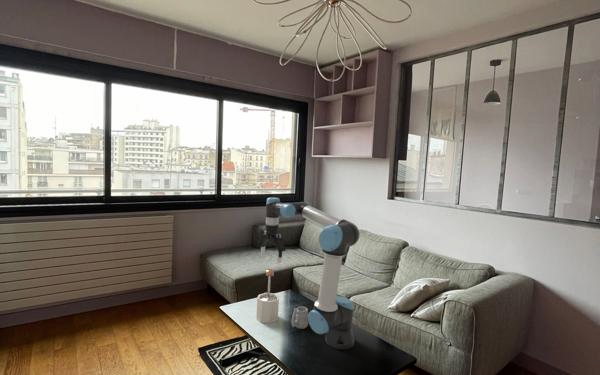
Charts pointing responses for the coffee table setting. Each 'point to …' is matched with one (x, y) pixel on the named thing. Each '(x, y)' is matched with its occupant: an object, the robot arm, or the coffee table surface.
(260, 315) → the octagonal white cup
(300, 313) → the mug
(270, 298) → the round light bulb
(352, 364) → the coffee table surface
